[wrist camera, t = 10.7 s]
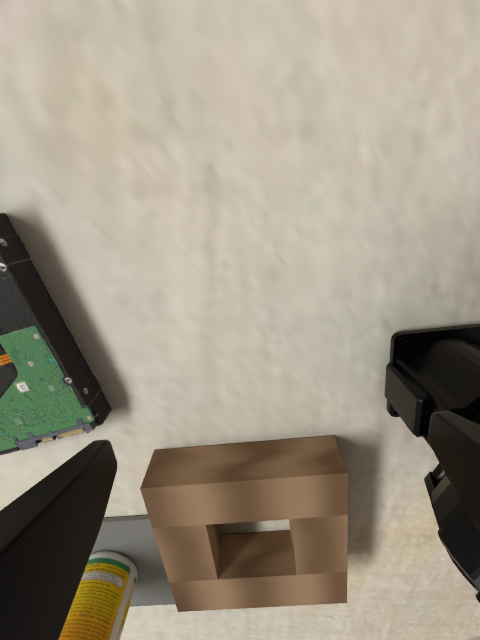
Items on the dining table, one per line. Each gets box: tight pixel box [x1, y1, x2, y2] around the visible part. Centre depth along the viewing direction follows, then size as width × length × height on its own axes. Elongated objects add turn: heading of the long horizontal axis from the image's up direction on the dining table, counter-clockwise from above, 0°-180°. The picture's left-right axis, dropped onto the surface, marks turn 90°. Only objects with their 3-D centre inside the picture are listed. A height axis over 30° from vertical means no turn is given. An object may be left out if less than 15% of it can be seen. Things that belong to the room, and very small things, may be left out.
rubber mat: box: [91, 515, 176, 607], centre depth 29 cm, size 12×12×1 cm
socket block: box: [140, 435, 349, 612], centre depth 25 cm, size 14×14×4 cm
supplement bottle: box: [59, 551, 138, 640], centre depth 24 cm, size 5×5×10 cm
